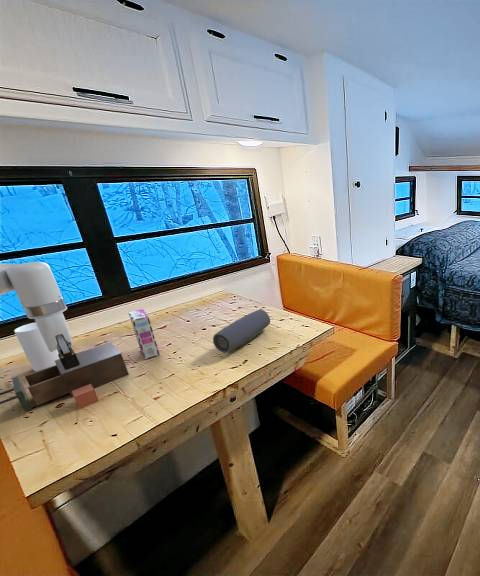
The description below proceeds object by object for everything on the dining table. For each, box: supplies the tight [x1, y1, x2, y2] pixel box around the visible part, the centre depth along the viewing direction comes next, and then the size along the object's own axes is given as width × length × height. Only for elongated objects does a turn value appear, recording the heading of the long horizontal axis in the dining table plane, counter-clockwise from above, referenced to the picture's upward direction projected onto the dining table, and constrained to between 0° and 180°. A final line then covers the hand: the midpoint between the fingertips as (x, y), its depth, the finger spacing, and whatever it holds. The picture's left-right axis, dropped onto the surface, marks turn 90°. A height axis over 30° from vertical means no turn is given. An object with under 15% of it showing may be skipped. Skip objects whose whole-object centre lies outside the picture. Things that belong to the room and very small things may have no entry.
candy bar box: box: [128, 308, 161, 360], centre depth 116 cm, size 11×5×16 cm, turn 45°
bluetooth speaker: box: [212, 309, 271, 354], centre depth 124 cm, size 23×9×10 cm, turn 161°
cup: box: [13, 321, 60, 372], centre depth 110 cm, size 8×8×16 cm
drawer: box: [0, 365, 70, 413], centre depth 93 cm, size 21×11×7 cm, turn 142°
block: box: [71, 384, 100, 410], centre depth 92 cm, size 4×4×4 cm
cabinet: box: [55, 341, 130, 398], centre depth 103 cm, size 15×13×9 cm
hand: (71, 365), depth 88 cm, fingers closed
